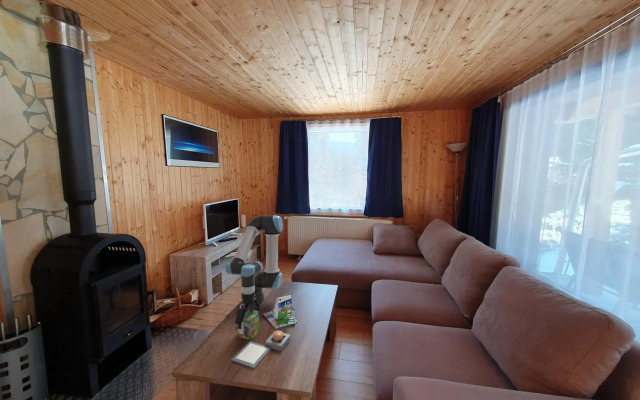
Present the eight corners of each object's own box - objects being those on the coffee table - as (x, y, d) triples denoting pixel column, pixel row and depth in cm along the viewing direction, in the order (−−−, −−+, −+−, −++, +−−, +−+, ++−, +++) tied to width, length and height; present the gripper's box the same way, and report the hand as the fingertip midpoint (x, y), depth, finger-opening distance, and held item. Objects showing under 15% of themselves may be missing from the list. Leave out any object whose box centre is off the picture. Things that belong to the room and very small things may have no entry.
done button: (276, 333, 139) (276, 329, 139) (285, 336, 137) (285, 332, 137) (271, 339, 134) (271, 335, 134) (279, 342, 132) (279, 338, 132)
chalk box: (250, 341, 138) (250, 316, 136) (237, 337, 141) (236, 313, 139) (260, 331, 146) (259, 308, 145) (247, 328, 149) (246, 305, 148)
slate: (250, 342, 136) (250, 340, 136) (271, 348, 131) (271, 347, 131) (231, 360, 123) (231, 359, 122) (254, 369, 117) (254, 367, 117)
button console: (275, 335, 143) (275, 330, 142) (290, 339, 139) (290, 334, 139) (265, 346, 133) (265, 341, 133) (281, 351, 130) (281, 346, 129)
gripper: (255, 282, 154) (256, 314, 156) (227, 300, 131) (228, 337, 132) (265, 284, 151) (266, 317, 153) (238, 303, 128) (239, 341, 130)
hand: (248, 326), depth 143 cm, fingers open, 13 cm apart
